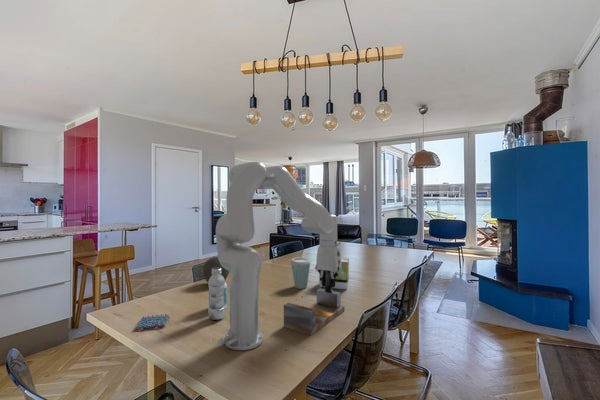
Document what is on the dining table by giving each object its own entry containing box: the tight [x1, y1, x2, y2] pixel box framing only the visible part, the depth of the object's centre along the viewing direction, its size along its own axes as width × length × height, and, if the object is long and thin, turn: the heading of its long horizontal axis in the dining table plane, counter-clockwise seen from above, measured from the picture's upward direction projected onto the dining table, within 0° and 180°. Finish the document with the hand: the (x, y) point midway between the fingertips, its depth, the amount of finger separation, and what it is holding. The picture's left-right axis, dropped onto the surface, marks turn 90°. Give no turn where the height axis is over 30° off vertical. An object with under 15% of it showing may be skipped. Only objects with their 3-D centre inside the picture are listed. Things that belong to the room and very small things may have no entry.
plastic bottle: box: [207, 267, 226, 321], centre depth 113 cm, size 6×7×20 cm
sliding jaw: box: [316, 270, 342, 308], centre depth 121 cm, size 3×10×16 cm, turn 55°
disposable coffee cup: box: [290, 257, 311, 289], centre depth 153 cm, size 11×11×15 cm
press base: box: [283, 302, 345, 336], centre depth 113 cm, size 26×12×8 cm, turn 145°
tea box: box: [318, 257, 350, 290], centre depth 154 cm, size 15×10×15 cm, turn 76°
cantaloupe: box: [202, 256, 230, 283], centre depth 158 cm, size 14×14×15 cm
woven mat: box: [135, 313, 171, 332], centre depth 108 cm, size 10×11×2 cm
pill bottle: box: [208, 277, 228, 310], centre depth 123 cm, size 8×7×14 cm
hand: (328, 286), depth 121 cm, fingers closed on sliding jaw, 3 cm apart
